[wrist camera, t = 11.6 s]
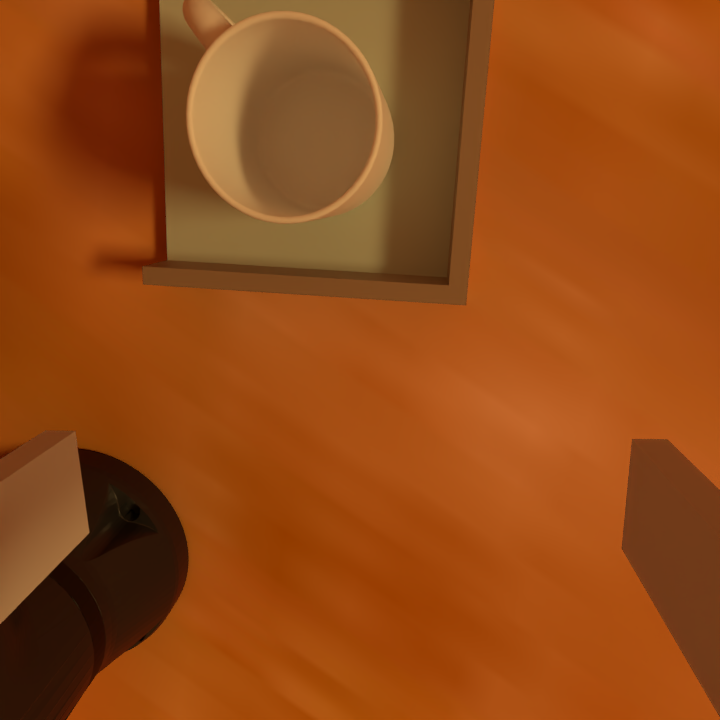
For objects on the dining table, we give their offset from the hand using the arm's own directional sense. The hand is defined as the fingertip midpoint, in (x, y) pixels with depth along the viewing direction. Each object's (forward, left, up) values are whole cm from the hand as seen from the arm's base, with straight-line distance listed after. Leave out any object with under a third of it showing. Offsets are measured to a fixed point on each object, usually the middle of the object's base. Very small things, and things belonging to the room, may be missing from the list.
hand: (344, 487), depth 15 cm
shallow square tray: (-5, +11, -25) cm, 28 cm away
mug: (-6, +11, -24) cm, 27 cm away
